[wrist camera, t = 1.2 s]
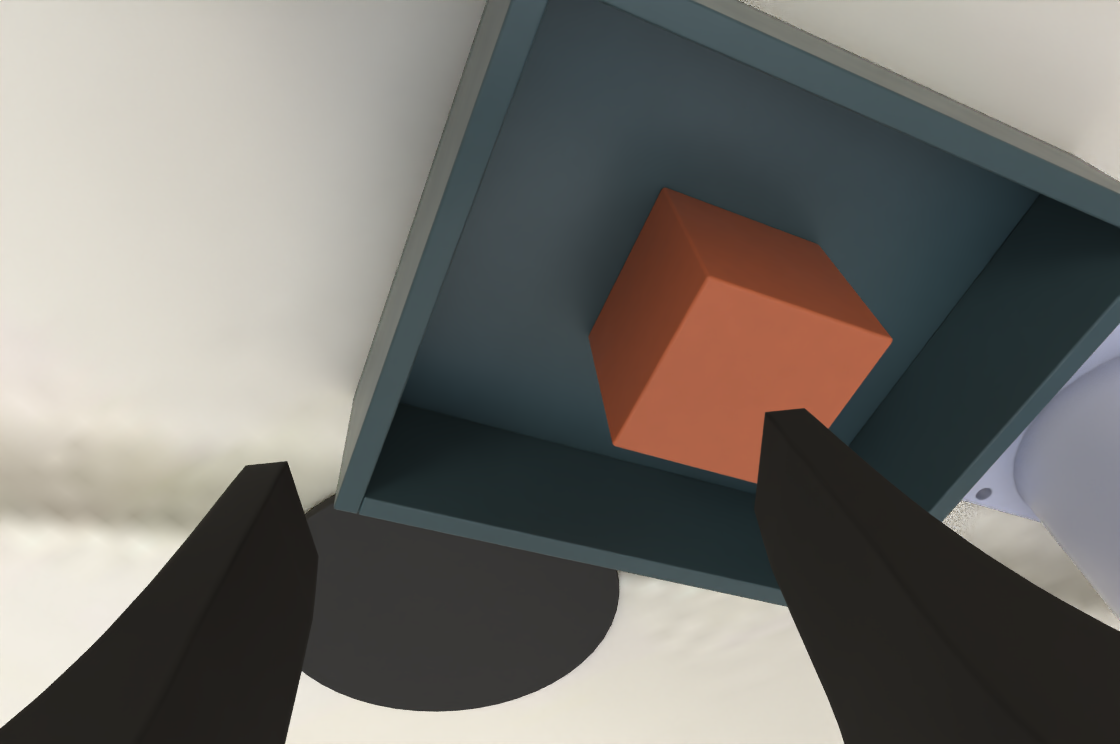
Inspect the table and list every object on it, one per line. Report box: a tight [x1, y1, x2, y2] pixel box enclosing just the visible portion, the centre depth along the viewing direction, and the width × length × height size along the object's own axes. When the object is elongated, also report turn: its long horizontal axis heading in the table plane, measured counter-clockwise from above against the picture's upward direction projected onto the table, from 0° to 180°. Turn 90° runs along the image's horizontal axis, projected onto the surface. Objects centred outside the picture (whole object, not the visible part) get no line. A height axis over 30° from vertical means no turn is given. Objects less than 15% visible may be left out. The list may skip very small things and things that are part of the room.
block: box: [589, 188, 893, 484], centre depth 20 cm, size 5×5×5 cm
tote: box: [334, 0, 1120, 607], centre depth 20 cm, size 15×13×4 cm
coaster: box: [302, 495, 619, 712], centre depth 28 cm, size 12×12×1 cm
